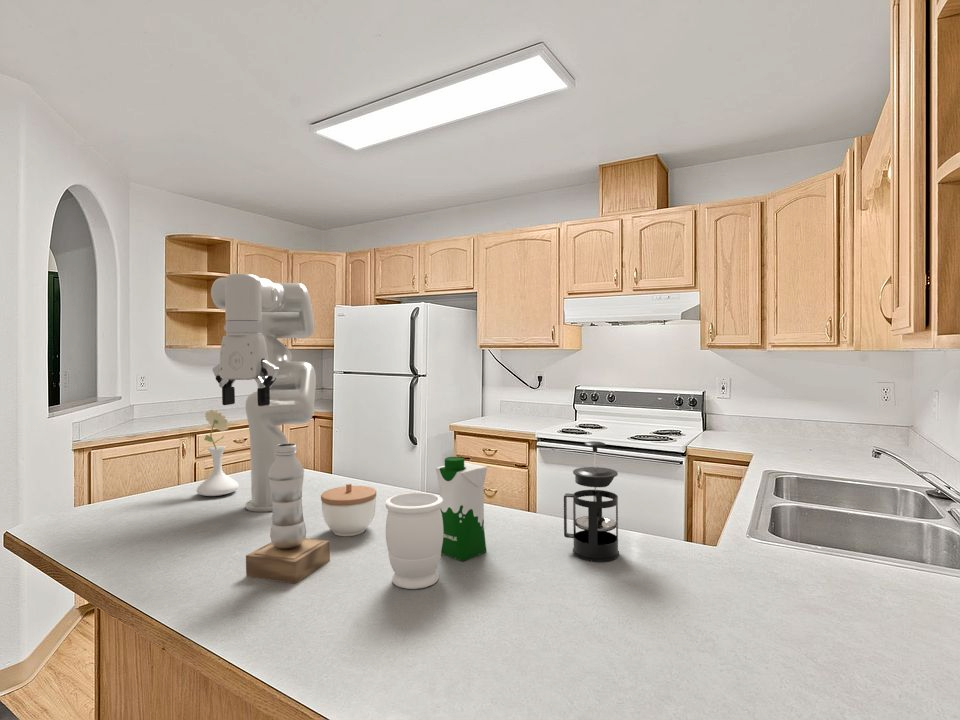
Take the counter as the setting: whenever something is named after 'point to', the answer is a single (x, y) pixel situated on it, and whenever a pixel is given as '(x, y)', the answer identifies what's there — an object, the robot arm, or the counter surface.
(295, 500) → the plastic bottle
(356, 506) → the lidded bowl
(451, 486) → the milk carton
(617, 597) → the counter surface
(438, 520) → the jar
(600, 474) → the french press
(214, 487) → the flower in vase
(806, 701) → the counter surface
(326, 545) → the base slab
